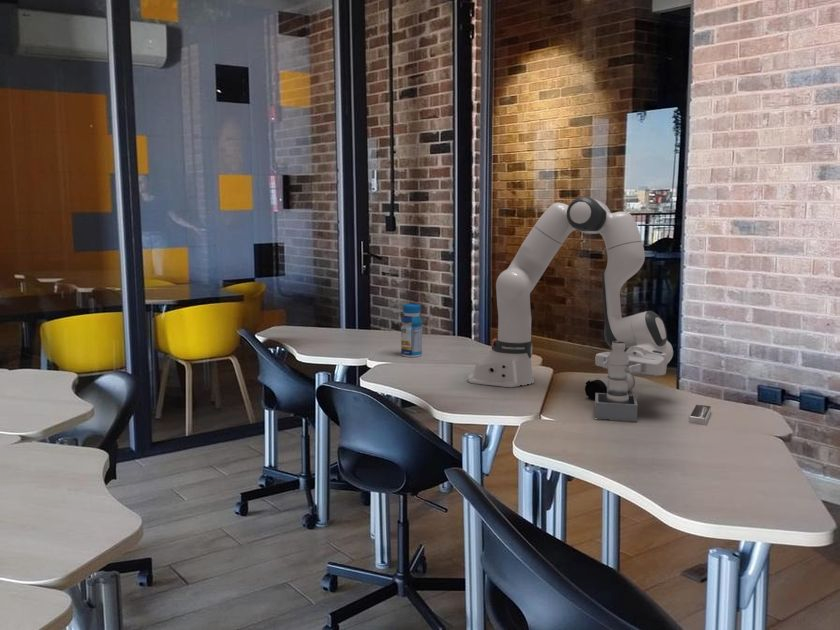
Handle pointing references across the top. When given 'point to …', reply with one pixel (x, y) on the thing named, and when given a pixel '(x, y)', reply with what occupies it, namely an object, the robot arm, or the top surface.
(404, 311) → the beverage bottle
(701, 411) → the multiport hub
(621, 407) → the gray open square bin
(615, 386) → the plastic bottle
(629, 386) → the travel mug
